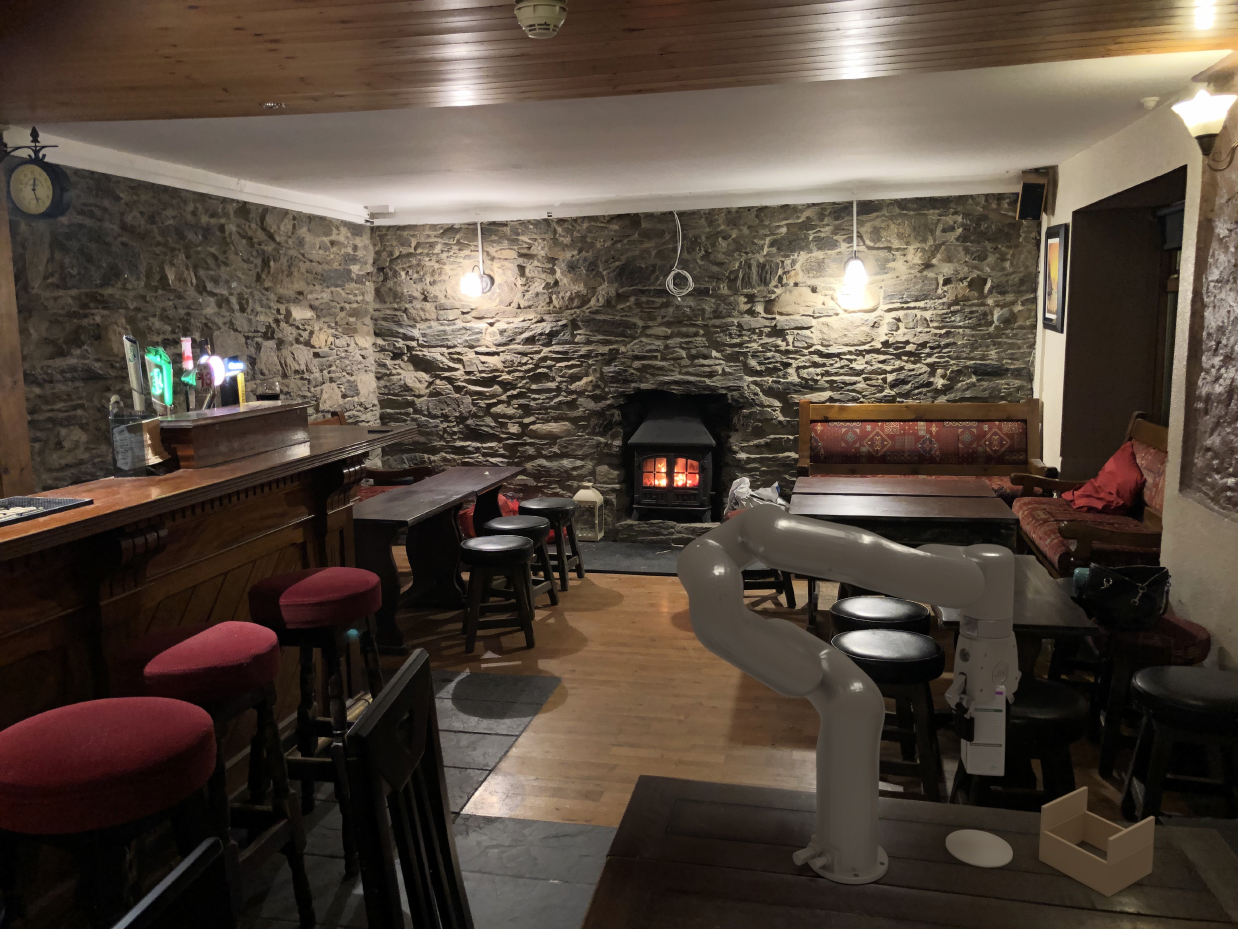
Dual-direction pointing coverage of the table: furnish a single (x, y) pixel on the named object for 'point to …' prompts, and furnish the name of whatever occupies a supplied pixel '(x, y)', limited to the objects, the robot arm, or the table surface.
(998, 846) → the beer mat
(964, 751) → the syrup box
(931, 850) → the table surface
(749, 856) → the table surface
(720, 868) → the table surface
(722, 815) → the table surface
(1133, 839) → the wooden frame
